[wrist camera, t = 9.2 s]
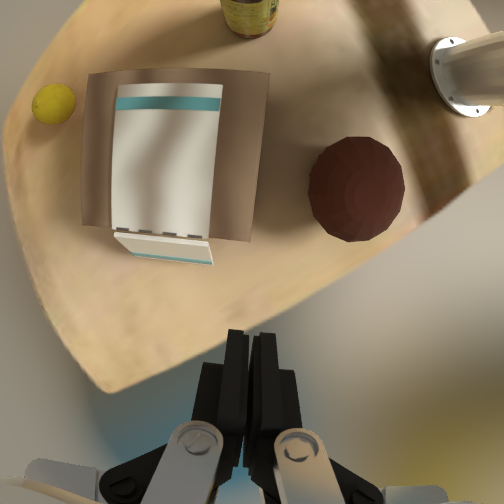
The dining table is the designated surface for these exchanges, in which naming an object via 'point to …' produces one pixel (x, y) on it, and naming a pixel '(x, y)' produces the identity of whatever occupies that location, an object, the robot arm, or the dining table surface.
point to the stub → (167, 248)
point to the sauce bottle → (250, 16)
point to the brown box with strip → (173, 151)
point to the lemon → (53, 104)
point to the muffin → (356, 189)
